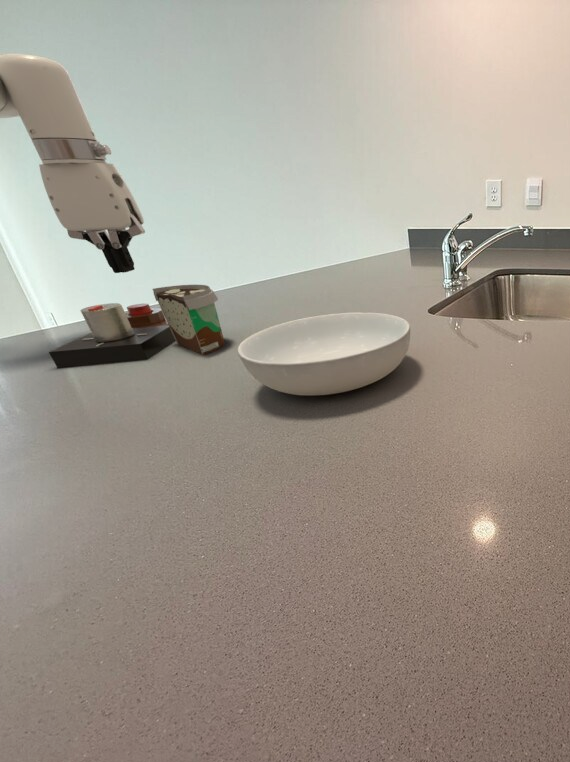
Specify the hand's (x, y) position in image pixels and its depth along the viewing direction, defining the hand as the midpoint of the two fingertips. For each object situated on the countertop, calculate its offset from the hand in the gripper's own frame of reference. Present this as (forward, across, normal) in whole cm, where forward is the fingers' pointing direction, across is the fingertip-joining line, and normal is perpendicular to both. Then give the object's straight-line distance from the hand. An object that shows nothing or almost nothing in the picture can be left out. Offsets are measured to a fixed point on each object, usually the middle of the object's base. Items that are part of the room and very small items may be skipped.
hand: (124, 271), depth 73 cm
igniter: (+12, 0, 0) cm, 12 cm away
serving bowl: (+12, -38, +33) cm, 52 cm away
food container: (+12, -14, +12) cm, 22 cm away
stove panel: (+12, -2, +12) cm, 17 cm away
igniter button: (+8, 0, 0) cm, 8 cm away
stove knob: (+9, -2, +12) cm, 15 cm away
